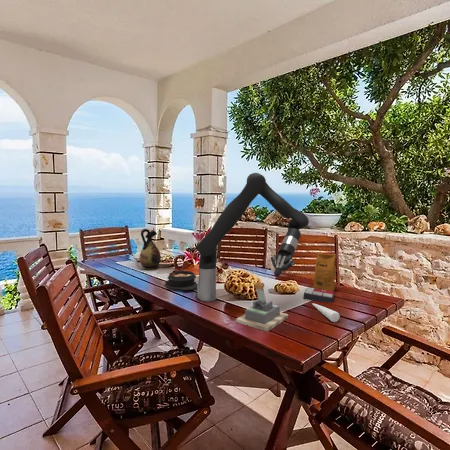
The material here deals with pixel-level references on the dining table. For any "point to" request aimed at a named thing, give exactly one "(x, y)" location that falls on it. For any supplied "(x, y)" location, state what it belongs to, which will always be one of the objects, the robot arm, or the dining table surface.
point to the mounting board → (264, 327)
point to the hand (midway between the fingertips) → (276, 275)
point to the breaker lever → (260, 293)
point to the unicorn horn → (328, 313)
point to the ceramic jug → (149, 252)
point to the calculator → (319, 295)
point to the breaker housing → (262, 312)
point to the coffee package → (325, 272)
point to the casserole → (181, 280)
